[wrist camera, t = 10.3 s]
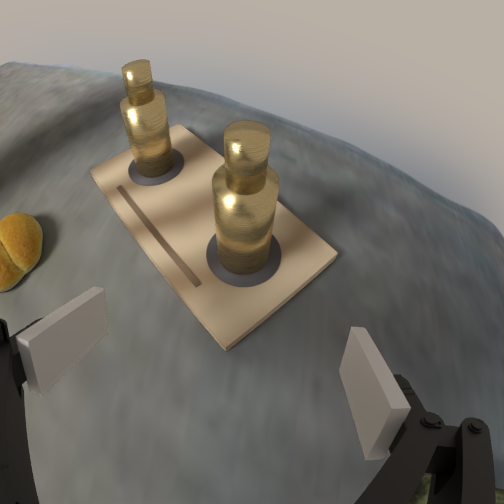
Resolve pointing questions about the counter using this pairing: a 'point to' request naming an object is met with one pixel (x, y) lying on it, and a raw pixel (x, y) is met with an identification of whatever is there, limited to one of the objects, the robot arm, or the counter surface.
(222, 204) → the brass bottle
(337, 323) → the counter surface
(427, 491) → the vegetable
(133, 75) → the gold bottle
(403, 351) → the counter surface
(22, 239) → the bread roll
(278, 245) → the board
